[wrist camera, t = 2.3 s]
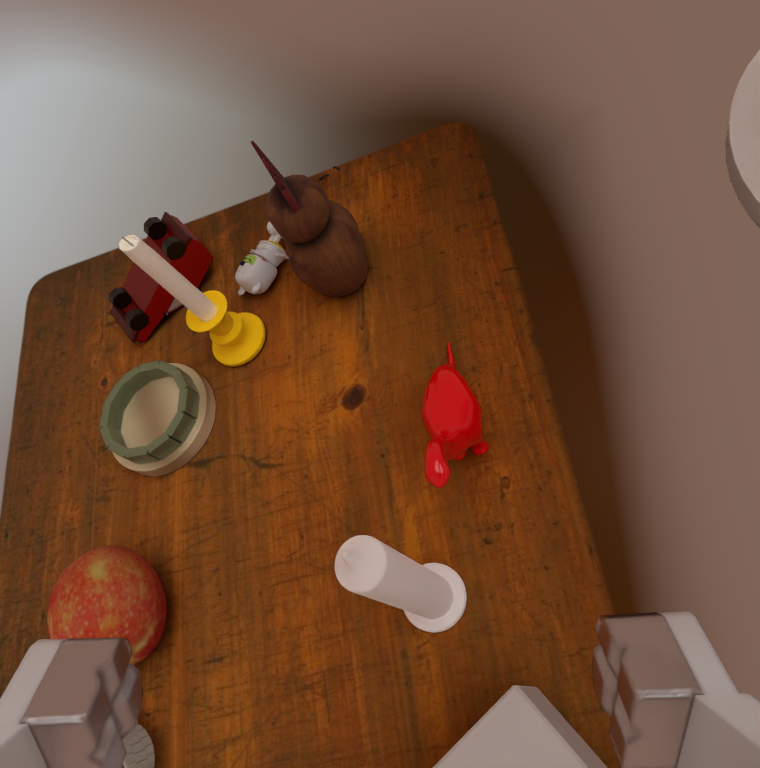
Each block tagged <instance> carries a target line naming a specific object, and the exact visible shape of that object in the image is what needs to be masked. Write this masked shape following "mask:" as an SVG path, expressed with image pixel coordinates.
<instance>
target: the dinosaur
mask: <svg viewBox="0 0 760 768" xmlns="http://www.w3.org/2000/svg"><path fill="white" fill-rule="evenodd" d="M447 346H448V364H442V365H440V366H438V367H437V368H436V369H435V371H434V372H433V374H432V375H431V377H430V380H429V382H428V385H427V388H426V391H425V395H424V400H423V407H422V419H423V422H424V425H425V428H426V430H427V432H428V434H429V437H430V440H429V442H428V444H427V446H426V451H425V477H426V479H427V480H428V482H429V483H431V484H432V485H433V486H435V487H437V488H442V487H444V485H445V484H446V483H447V481H448V479H449V477H450V468H449V466H448V461H447V460H461V459H463V458H464V457H465V455H466V450H467V449H469V448H470V447H472V451H473V453H474V454H476V455H482V454H484V453H486V452H487V450H488V444H487V442H486V441H485V440H483V431H482V428H481V407H480V404H479V403H478V401H477V395H476V393H475V392H474V391H473V390H472V389H471V388H470V386H469V385H468V383H467V381H466V380H465V378H464V377H463V376H462V375H461V373H460V372H458V371H457V370H456V366H455V362H454V358H453V354H452V351H451V348H450V344H449V343H447Z"/></svg>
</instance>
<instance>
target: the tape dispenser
mask: <svg viewBox="0 0 760 768" xmlns="http://www.w3.org/2000/svg"><path fill="white" fill-rule="evenodd" d="M433 768H608V767H607V766H606V765H605V764H604V763H603V762H602V761H601V759H600V758H599V757H598V756H597V755H596V754H595V753H594V751H593V750H592V749H591V748H590V747H589V746H588V745H587V744H586V742H585V741H584V740H583V739H582V738H581V737H580V736H579V734H578V733H577V732H576V731H575V730H574V729H573V728H572V726H571V725H570V724H569V723H568V722H567V721H566V720H565V718H564V717H563V716H562V715H561V714H560V713H559V712H558V710H557V709H556V708H555V707H554V706H553V705H552V704H551V702H550V701H549V700H548V699H547V698H546V697H545V696H544V694H543V693H542V692H541V691H540V690H539V689H538V688H537V687H532V686H519V685H513V686H512V687H511V688H510V689H509V690H508V691H507V692H506V693H505V694H504V695H503V696H502V697H501V698H500V699H499V700H498V701H497V702H496V703H495V704H494V705H493V706H492V707H491V708H490V709H489V710H488V711H487V712H486V713H485V715H484V716H483V717H482V718H481V719H480V720H479V721H478V722H477V723H476V724H475V725H474V726H473V727H472V728H471V729H470V730H469V731H468V732H467V733H466V734H465V735H464V736H463V737H462V738H461V739H460V740H459V741H458V742H457V743H456V744H455V745H454V746H453V747H452V748H451V749H450V750H449V751H448V752H447V753H446V754H445V755H444V756H443V757H442V759H441V760H440V761H439V762H438V763H437V764H436V765H435V766H434V767H433Z"/></svg>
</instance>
